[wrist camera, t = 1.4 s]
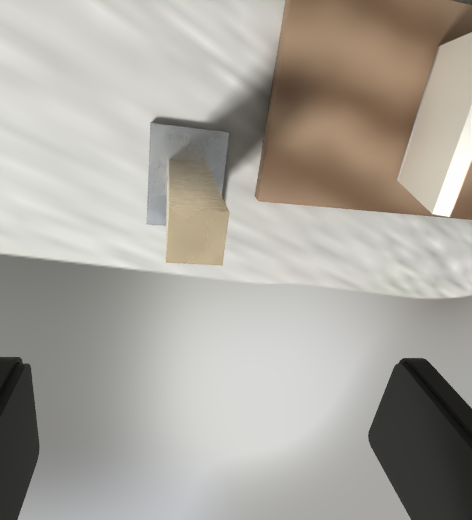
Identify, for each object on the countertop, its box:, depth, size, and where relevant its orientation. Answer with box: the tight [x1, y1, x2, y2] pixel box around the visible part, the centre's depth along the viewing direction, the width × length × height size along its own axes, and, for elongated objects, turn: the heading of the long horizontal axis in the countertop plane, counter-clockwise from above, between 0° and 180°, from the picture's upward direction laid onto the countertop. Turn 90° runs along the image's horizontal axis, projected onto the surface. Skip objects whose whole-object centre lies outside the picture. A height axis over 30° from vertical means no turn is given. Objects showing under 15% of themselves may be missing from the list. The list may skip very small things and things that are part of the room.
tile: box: [397, 32, 472, 217], centre depth 25 cm, size 10×11×1 cm
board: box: [255, 0, 472, 220], centre depth 31 cm, size 16×24×2 cm, turn 82°
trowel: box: [147, 123, 229, 265], centre depth 25 cm, size 8×6×13 cm
